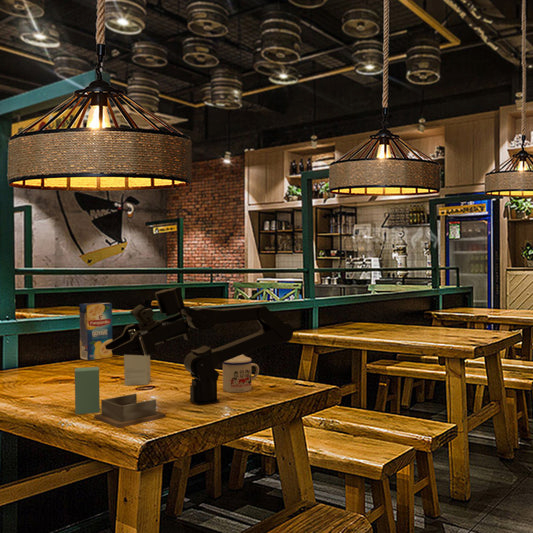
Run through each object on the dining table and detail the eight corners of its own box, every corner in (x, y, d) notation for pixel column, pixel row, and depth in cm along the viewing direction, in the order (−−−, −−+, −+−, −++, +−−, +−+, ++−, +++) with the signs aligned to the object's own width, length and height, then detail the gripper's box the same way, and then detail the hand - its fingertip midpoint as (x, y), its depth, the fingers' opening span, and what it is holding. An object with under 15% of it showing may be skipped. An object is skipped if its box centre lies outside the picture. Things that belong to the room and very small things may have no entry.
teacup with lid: (230, 394, 172) (230, 354, 171) (217, 388, 179) (216, 350, 179) (266, 389, 178) (265, 350, 178) (251, 384, 185) (251, 346, 185)
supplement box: (151, 380, 193) (150, 341, 193) (147, 385, 186) (146, 345, 186) (128, 380, 193) (127, 342, 193) (123, 385, 186) (123, 345, 185)
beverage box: (112, 356, 242) (112, 303, 242) (87, 360, 235) (86, 304, 235) (104, 355, 247) (103, 302, 247) (79, 358, 240) (79, 304, 240)
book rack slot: (140, 408, 156) (139, 391, 156) (165, 417, 147) (165, 399, 147) (94, 418, 147) (94, 400, 147) (118, 427, 138) (118, 408, 138)
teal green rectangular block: (99, 407, 157) (98, 366, 157) (99, 412, 153) (99, 369, 152) (75, 409, 156) (75, 368, 156) (75, 414, 151) (74, 371, 151)
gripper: (148, 299, 166) (93, 317, 159) (166, 303, 149) (105, 323, 142) (159, 336, 167) (105, 356, 161) (178, 345, 150) (119, 366, 144)
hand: (108, 349), depth 152 cm, fingers open, 9 cm apart
